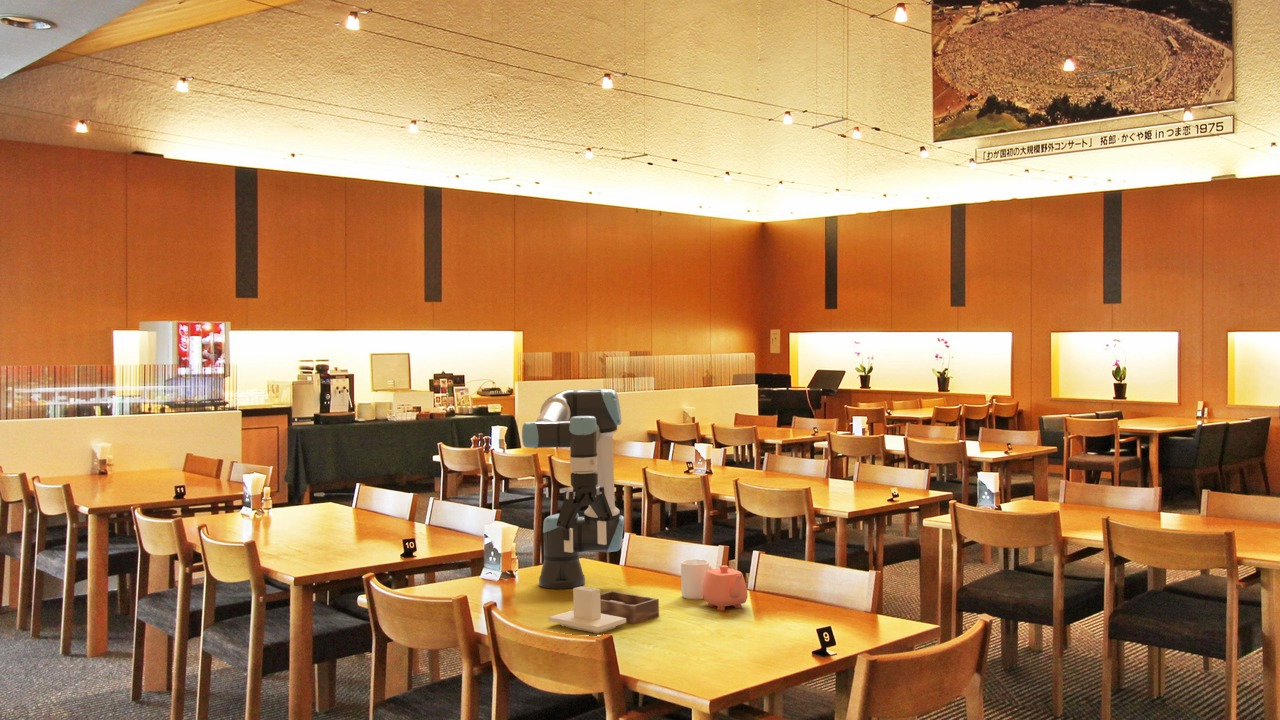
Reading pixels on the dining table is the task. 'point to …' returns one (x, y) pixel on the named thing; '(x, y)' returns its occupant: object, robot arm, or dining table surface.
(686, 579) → the mug
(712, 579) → the teapot
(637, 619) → the bento box
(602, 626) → the lid
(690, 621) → the dining table surface
